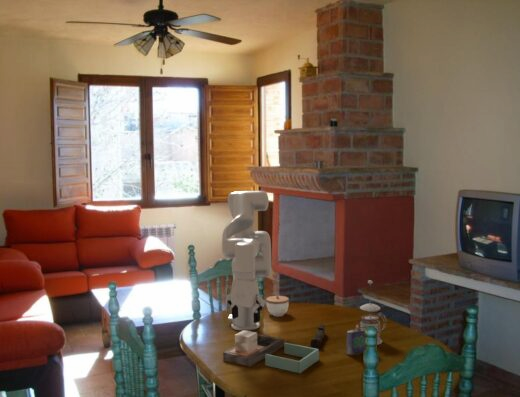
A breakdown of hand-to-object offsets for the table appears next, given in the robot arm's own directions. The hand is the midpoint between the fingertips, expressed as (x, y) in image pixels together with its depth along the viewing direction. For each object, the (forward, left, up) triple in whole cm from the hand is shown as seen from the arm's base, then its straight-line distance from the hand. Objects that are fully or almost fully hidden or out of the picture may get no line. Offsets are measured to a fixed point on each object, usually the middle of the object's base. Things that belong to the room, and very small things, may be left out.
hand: (245, 319), depth 205 cm
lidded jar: (-18, +53, -15) cm, 58 cm away
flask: (+34, +25, -15) cm, 45 cm away
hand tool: (+15, +30, -15) cm, 37 cm away
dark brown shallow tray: (0, +5, -14) cm, 15 cm away
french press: (+34, +40, -15) cm, 55 cm away
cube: (0, -1, -11) cm, 11 cm away
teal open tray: (+17, +4, -14) cm, 23 cm away
